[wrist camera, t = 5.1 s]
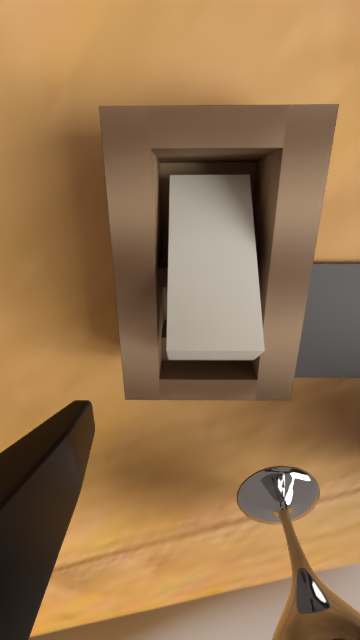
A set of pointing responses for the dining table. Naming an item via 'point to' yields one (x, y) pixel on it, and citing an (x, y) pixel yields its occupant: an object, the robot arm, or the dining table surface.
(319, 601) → the wine glass
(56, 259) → the dining table surface
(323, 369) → the mat
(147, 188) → the rectangular frame
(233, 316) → the block
